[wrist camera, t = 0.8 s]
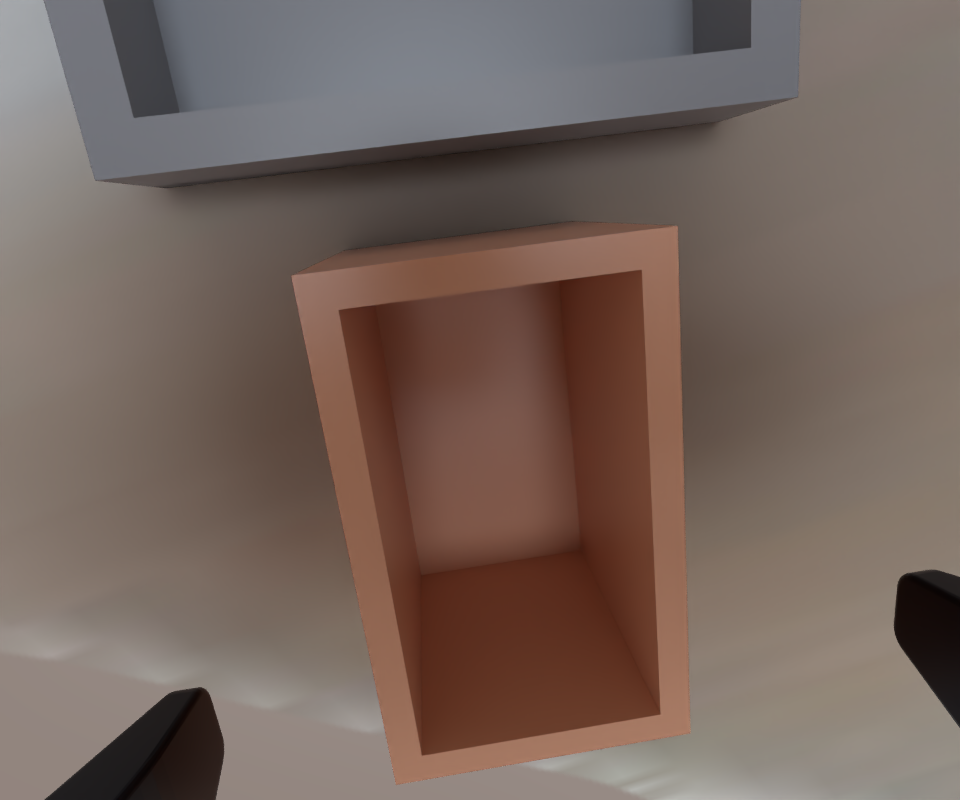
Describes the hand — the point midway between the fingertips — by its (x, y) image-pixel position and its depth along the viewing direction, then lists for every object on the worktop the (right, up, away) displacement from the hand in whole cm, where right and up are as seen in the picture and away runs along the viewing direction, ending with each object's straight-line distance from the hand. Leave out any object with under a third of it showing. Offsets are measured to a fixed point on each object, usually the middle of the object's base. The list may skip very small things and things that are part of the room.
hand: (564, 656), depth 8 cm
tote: (-1, +3, +10) cm, 10 cm away
